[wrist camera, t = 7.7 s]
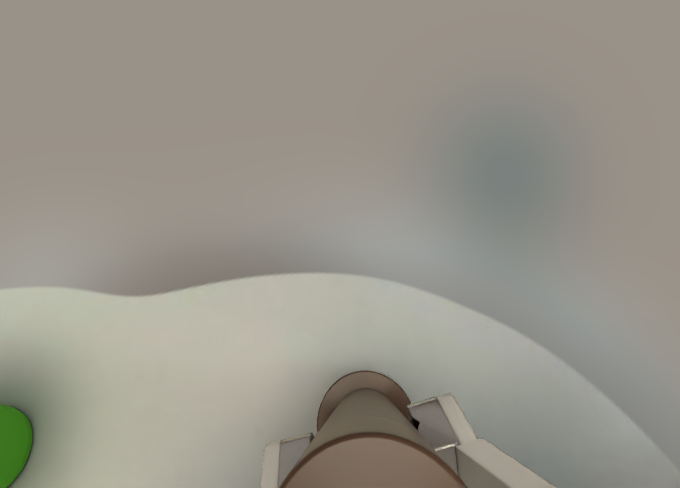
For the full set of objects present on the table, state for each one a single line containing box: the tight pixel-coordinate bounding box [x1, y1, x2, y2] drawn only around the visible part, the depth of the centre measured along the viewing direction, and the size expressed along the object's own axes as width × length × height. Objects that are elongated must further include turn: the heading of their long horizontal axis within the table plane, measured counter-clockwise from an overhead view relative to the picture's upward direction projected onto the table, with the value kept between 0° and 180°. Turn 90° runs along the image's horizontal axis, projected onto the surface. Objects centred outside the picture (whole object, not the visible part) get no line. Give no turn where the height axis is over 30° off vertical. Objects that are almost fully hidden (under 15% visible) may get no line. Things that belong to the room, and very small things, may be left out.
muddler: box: [279, 371, 468, 488], centre depth 11 cm, size 5×5×15 cm
